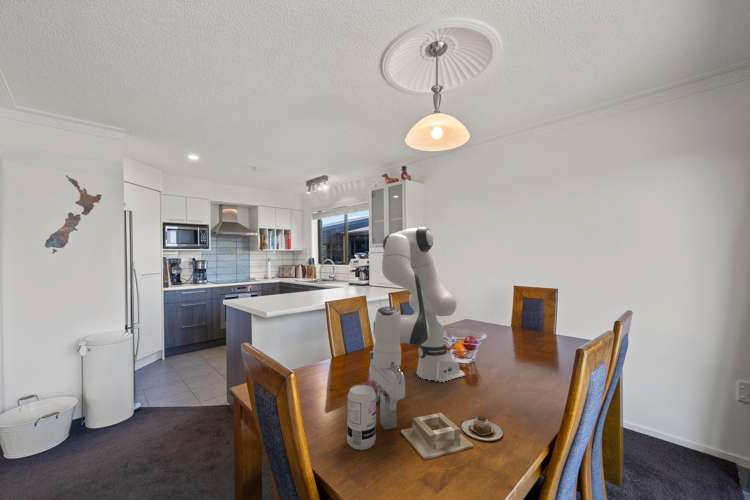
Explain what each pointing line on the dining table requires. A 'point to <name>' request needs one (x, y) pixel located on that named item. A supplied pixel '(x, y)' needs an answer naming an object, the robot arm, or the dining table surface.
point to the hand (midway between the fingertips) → (386, 402)
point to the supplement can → (361, 417)
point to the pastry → (482, 428)
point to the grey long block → (387, 412)
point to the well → (435, 436)
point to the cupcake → (374, 385)
